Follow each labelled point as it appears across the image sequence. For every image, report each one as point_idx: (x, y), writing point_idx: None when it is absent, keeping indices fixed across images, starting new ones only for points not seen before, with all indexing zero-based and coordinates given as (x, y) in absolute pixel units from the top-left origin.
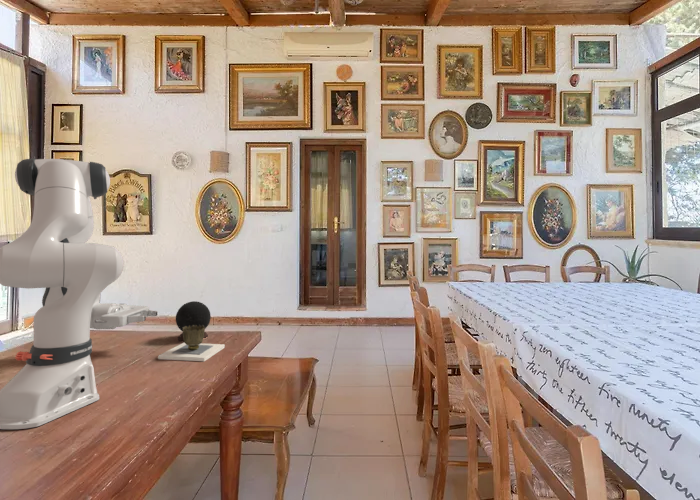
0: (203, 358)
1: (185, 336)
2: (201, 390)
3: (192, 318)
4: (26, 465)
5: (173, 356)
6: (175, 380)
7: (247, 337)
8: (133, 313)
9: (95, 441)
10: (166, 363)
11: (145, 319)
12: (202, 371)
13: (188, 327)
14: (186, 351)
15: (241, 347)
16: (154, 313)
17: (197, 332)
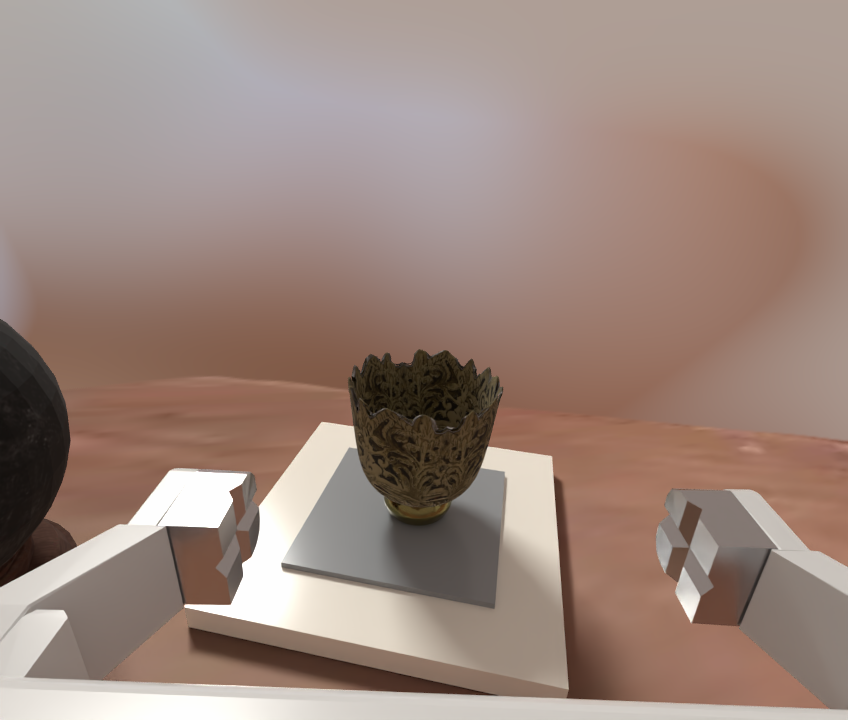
0: (550, 461)
1: (483, 447)
2: (834, 440)
3: (48, 415)
4: None
5: (560, 582)
6: (825, 516)
7: (156, 389)
8: (725, 714)
9: None
10: (634, 619)
11: (662, 532)
12: (673, 460)
13: (371, 414)
14: (467, 530)
15: (333, 396)
16: (243, 512)
17: (477, 384)
